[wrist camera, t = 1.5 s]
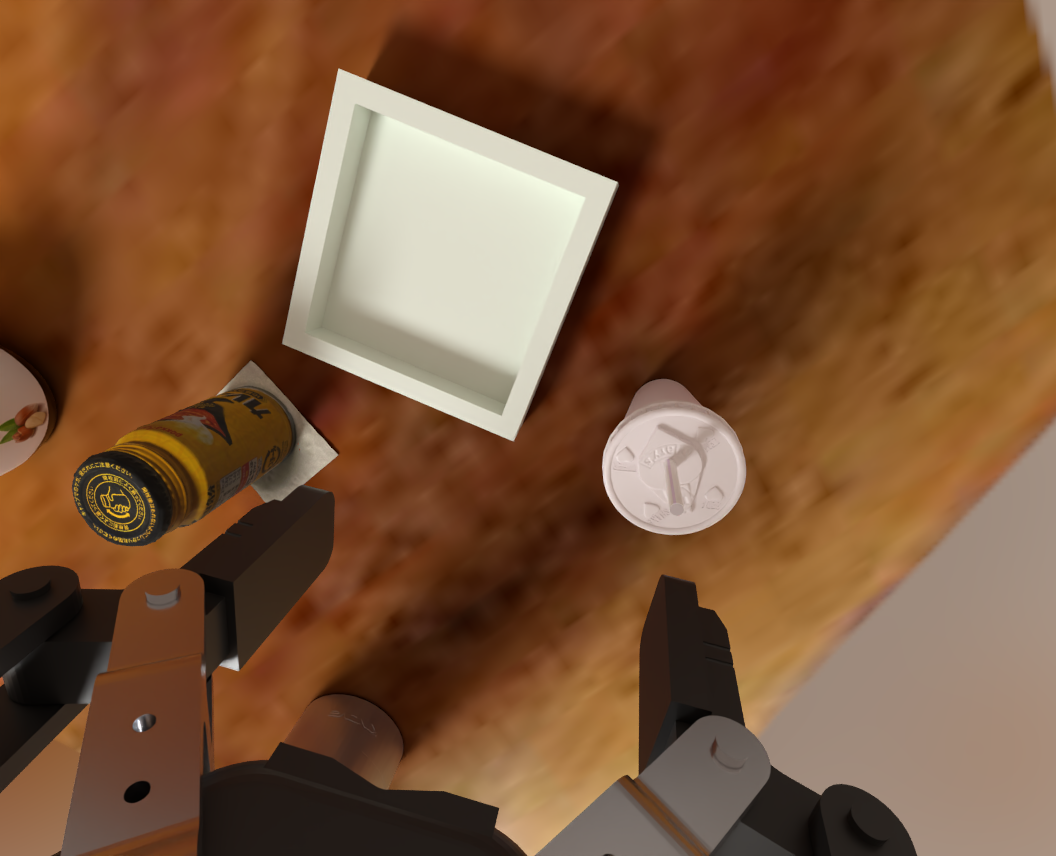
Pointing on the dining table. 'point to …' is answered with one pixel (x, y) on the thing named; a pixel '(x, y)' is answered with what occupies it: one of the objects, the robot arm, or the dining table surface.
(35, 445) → the spread jar
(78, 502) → the condiment
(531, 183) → the tray
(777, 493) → the dining table surface
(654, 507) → the smoothie
